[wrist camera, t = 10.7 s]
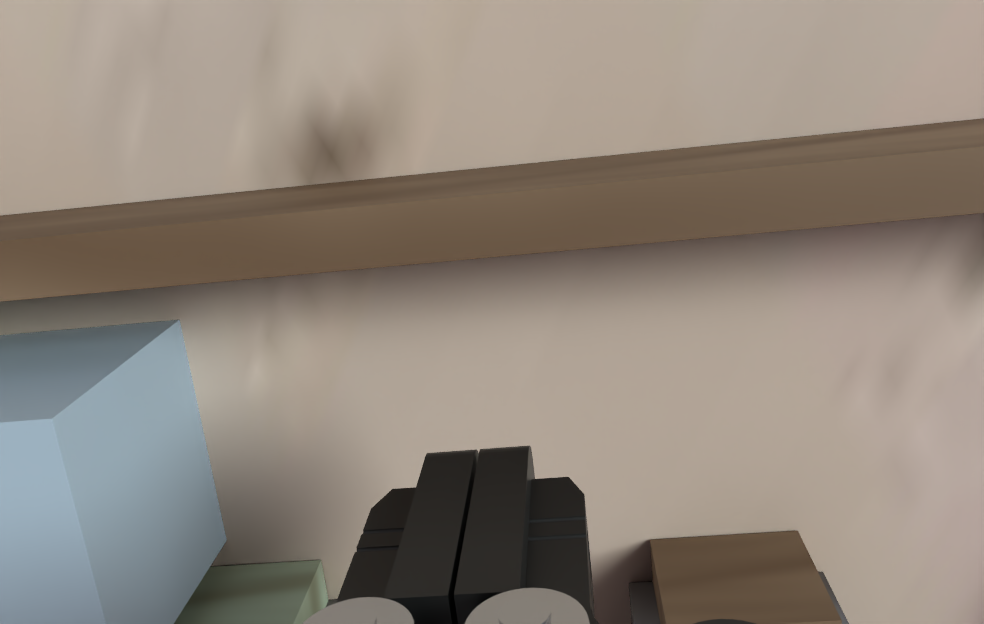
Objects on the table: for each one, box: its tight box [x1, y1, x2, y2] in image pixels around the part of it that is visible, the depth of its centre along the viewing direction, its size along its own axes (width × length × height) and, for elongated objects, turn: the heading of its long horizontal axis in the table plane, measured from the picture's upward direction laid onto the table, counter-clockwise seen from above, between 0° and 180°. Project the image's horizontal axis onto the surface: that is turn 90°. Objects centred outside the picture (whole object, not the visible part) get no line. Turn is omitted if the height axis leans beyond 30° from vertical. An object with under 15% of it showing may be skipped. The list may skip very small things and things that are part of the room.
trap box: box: [0, 119, 984, 624], centre depth 18 cm, size 16×29×3 cm, turn 96°
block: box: [0, 320, 227, 624], centre depth 17 cm, size 5×5×5 cm
